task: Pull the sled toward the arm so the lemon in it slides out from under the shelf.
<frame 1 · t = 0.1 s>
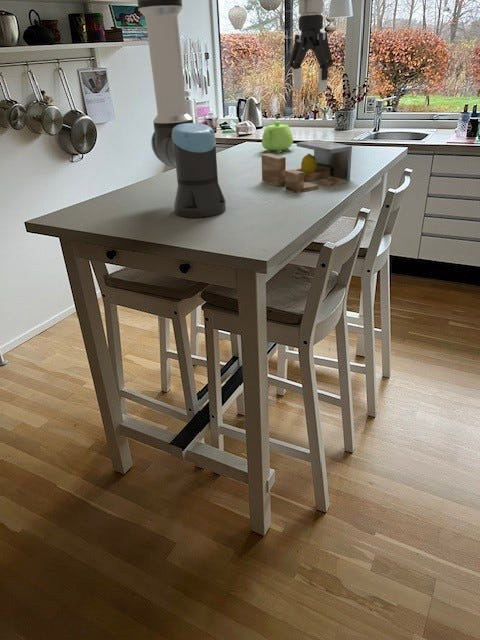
hand: (309, 91, 157), 28 cm above the table, fingers open, 13 cm apart
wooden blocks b: (315, 186, 159), on the table
lemon: (308, 177, 171), resting in sled a
green round lobed piece: (277, 151, 220), on the table
shelf: (322, 177, 169), on the table
sled a: (296, 165, 167), point 5 cm above the table, slide at 0.0 cm
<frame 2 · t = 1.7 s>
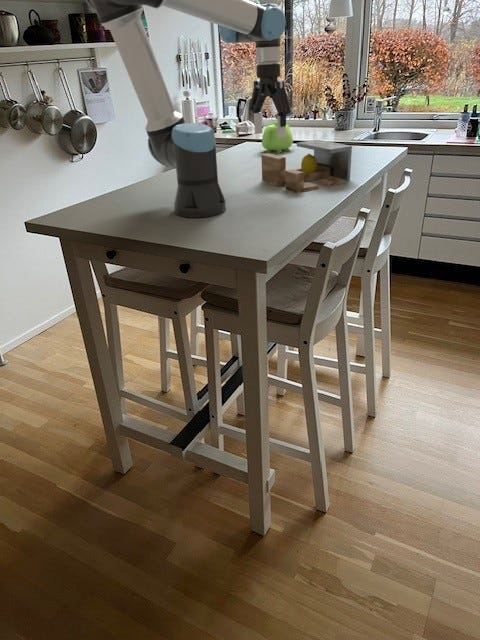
hand: (269, 135, 159), 16 cm above the table, fingers open, 13 cm apart
nothing on the table moved.
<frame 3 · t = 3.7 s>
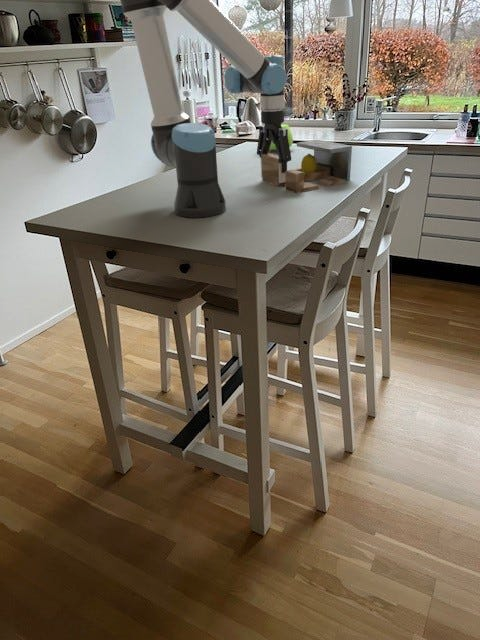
hand: (273, 179, 165), 1 cm above the table, fingers closed on sled a, 10 cm apart
sled a: (296, 165, 167), point 5 cm above the table, slide at 0.0 cm, touching gripper
everything else where it was.
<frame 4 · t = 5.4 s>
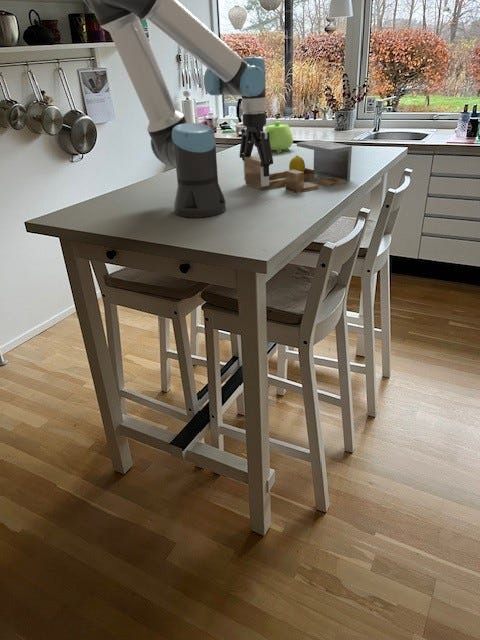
hand: (256, 182, 162), 1 cm above the table, fingers closed on sled a, 10 cm apart
lemon: (297, 179, 169), resting in sled a
sled a: (280, 168, 164), point 5 cm above the table, slide at 6.8 cm, touching gripper
everything else where it was.
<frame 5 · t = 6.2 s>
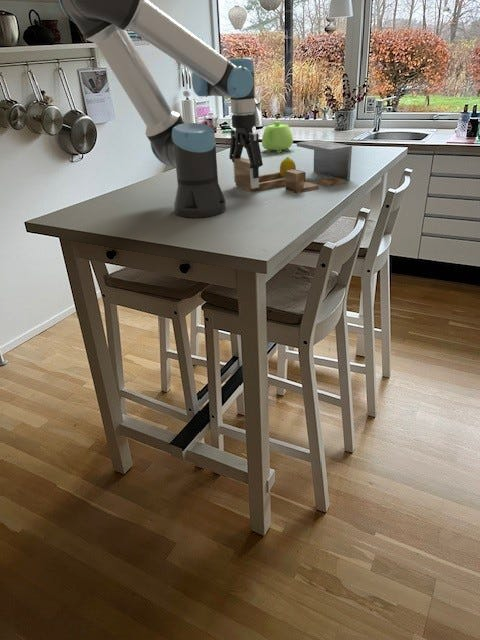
hand: (246, 184, 160), 1 cm above the table, fingers closed on sled a, 10 cm apart
lemon: (287, 181, 168), resting in sled a
sled a: (270, 170, 162), point 5 cm above the table, slide at 10.8 cm, touching gripper
everything else where it was.
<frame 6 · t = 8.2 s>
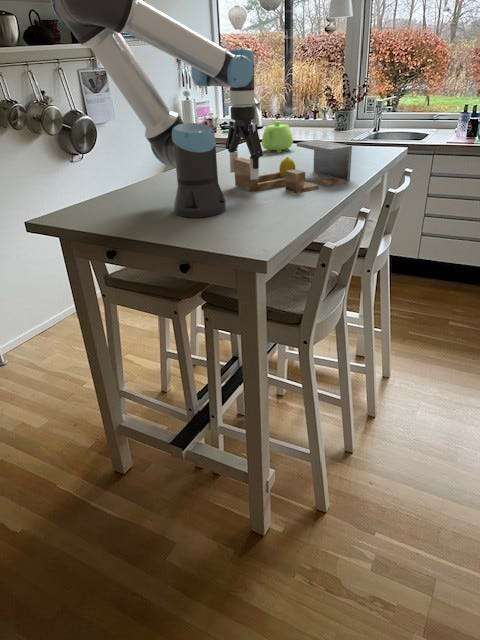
hand: (243, 175, 158), 4 cm above the table, fingers open, 13 cm apart
lemon: (287, 181, 168), resting in sled a
sled a: (270, 170, 162), point 5 cm above the table, slide at 10.9 cm, touching lemon
everything else where it was.
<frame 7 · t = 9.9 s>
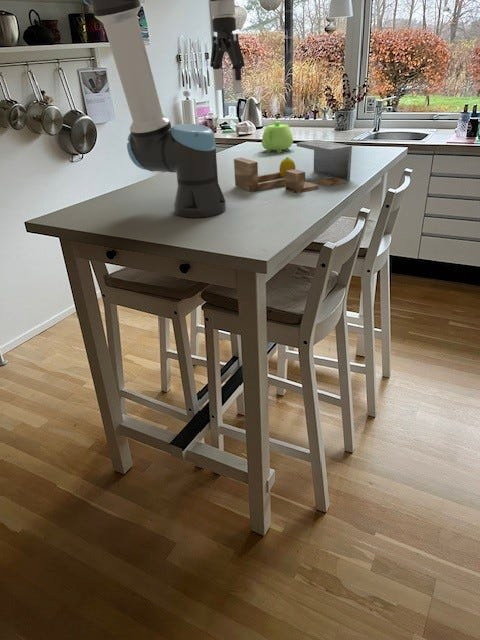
hand: (228, 90, 162), 29 cm above the table, fingers open, 13 cm apart
nothing on the table moved.
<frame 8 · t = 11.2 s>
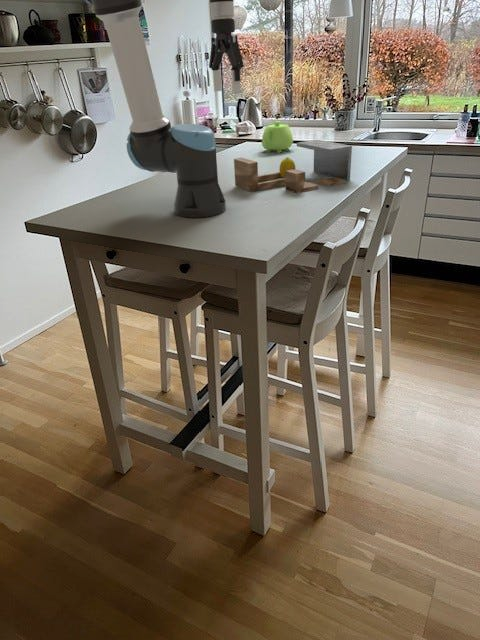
hand: (227, 91, 163), 29 cm above the table, fingers open, 13 cm apart
nothing on the table moved.
at the end: sled a slide at 10.9 cm; lemon inside the target area (3.5 cm from its centre), resting in sled a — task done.
